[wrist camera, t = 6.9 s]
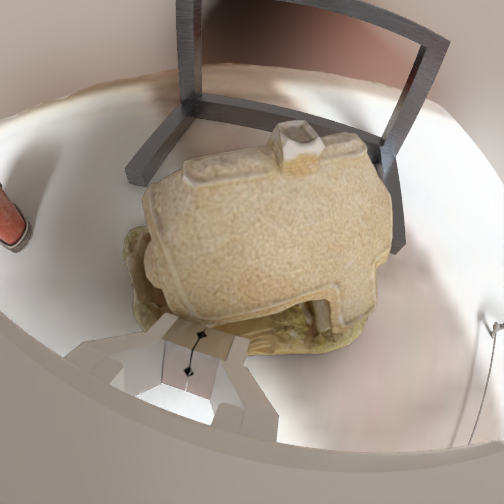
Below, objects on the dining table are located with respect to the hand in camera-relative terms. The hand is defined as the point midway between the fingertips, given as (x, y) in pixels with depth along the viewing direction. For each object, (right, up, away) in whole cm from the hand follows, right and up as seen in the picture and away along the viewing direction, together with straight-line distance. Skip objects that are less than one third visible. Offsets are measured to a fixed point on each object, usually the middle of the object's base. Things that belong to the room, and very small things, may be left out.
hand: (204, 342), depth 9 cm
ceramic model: (+2, +2, +7) cm, 7 cm away
